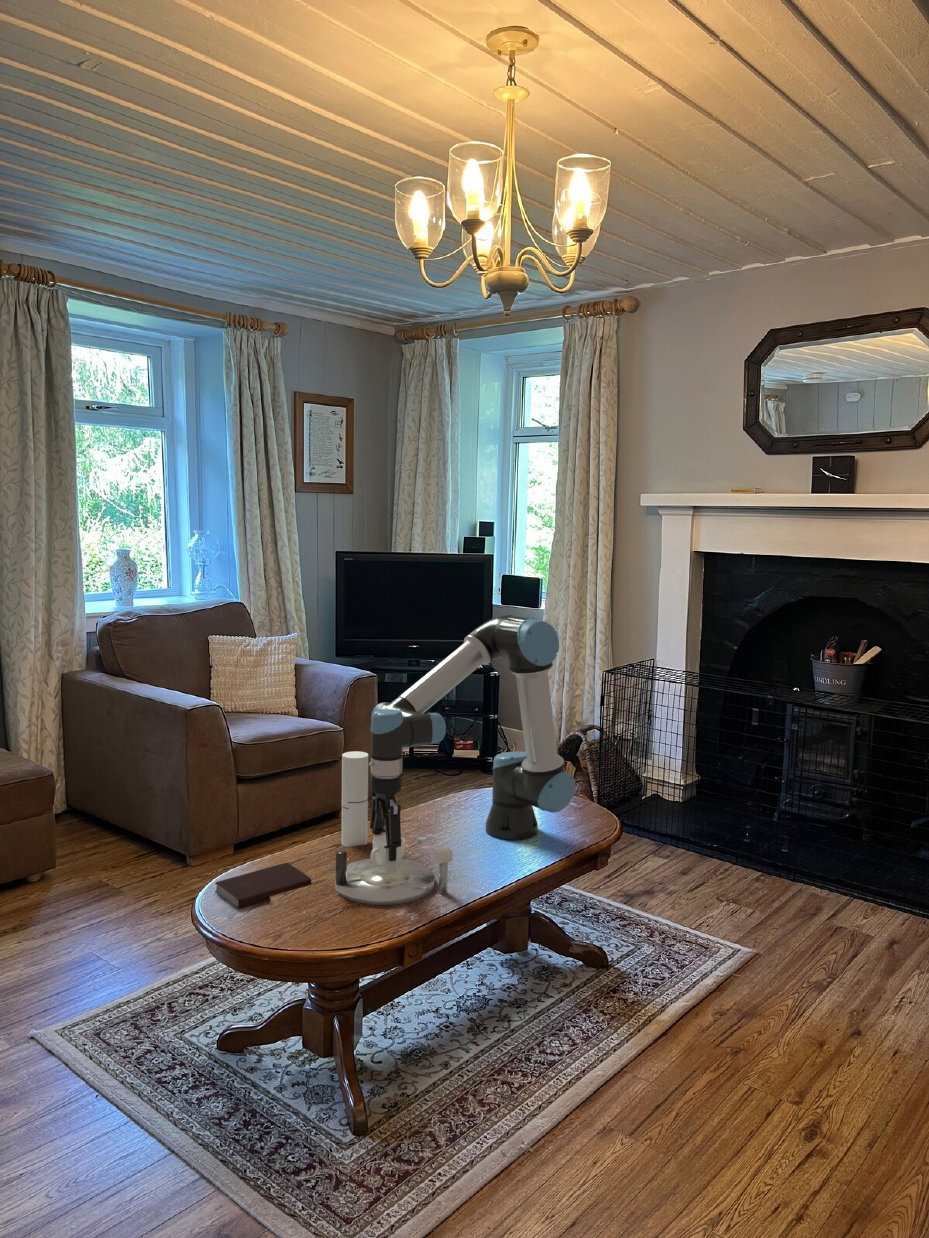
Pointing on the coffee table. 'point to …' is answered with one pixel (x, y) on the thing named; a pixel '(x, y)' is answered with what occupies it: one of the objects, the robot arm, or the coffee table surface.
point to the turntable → (382, 881)
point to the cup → (379, 851)
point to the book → (261, 884)
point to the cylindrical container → (354, 798)
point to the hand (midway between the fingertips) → (384, 866)
